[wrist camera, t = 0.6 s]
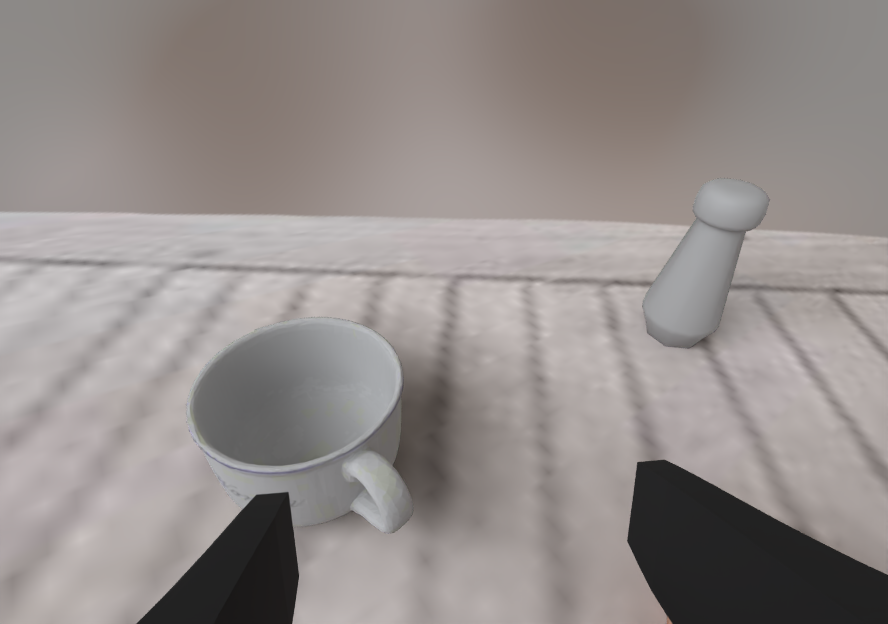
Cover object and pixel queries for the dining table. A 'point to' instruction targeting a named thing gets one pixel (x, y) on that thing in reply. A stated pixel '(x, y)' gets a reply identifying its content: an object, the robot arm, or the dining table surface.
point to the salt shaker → (703, 263)
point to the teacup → (306, 420)
